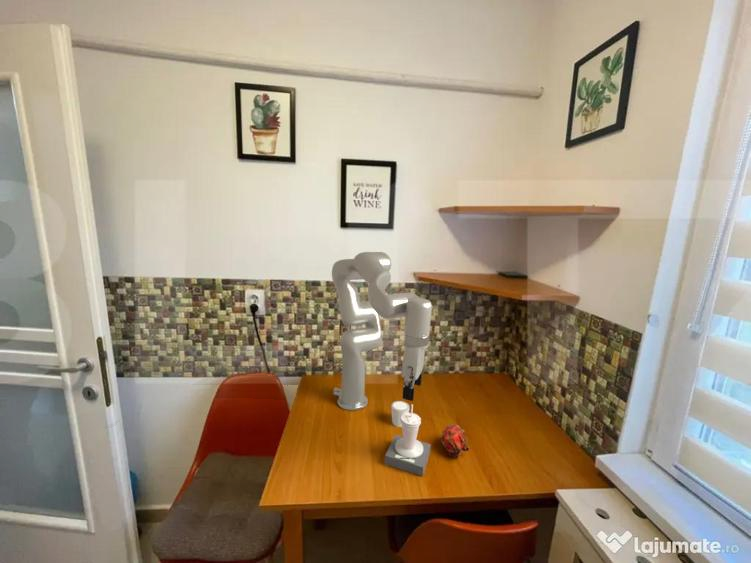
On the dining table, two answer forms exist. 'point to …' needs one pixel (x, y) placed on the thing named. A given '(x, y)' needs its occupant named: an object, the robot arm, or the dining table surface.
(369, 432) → the dining table surface
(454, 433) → the dragon fruit
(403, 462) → the scale
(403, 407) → the white cup
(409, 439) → the smoothie
